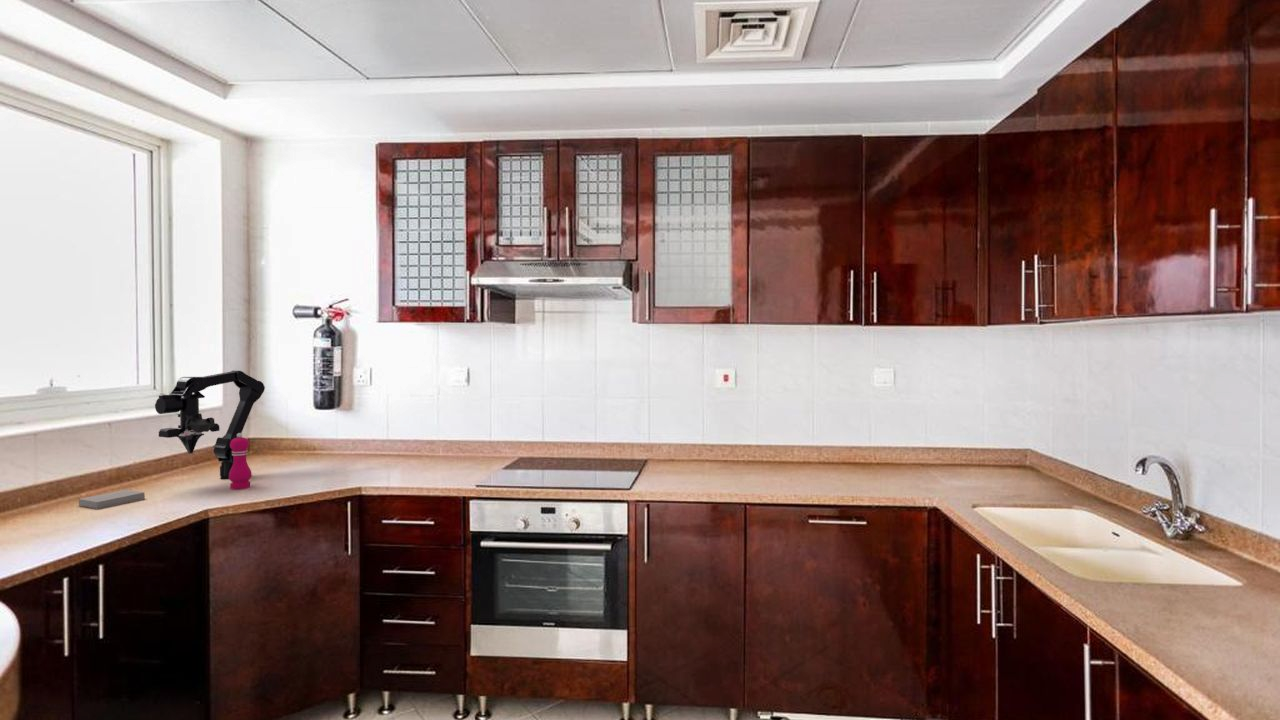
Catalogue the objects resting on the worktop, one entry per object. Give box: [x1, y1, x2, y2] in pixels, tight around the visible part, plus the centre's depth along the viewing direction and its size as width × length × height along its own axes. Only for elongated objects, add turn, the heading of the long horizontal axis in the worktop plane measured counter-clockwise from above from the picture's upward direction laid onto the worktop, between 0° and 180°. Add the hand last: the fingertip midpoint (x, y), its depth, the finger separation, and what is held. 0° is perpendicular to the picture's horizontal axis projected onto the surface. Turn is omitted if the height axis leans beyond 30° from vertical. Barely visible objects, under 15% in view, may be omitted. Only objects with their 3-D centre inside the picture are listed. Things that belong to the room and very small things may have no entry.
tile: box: [78, 489, 146, 510], centre depth 219 cm, size 3×10×14 cm
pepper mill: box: [229, 433, 253, 490], centre depth 240 cm, size 7×7×20 cm
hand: (190, 453), depth 242 cm, fingers closed
